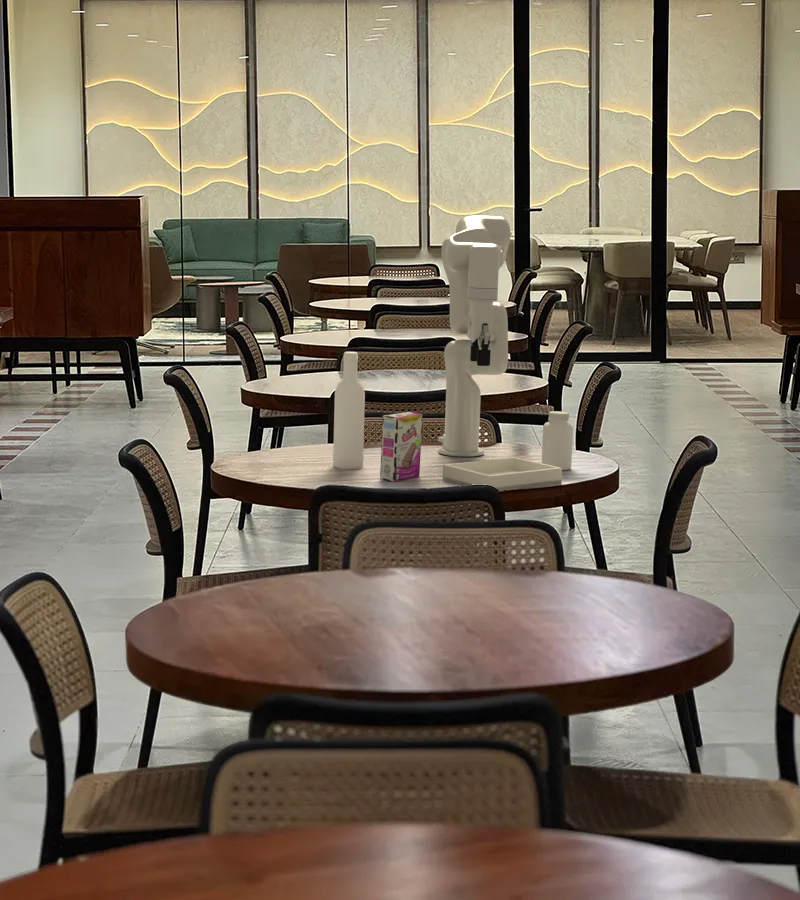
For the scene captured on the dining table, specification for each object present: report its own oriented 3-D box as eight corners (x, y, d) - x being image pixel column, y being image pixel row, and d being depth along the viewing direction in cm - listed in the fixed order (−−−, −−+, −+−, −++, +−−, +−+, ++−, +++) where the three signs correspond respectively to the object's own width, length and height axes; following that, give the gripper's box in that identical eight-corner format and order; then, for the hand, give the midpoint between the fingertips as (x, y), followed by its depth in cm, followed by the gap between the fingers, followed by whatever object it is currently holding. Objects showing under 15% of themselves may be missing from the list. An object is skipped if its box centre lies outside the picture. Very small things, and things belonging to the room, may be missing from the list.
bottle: (367, 465, 413) (370, 351, 408) (356, 470, 406) (359, 354, 401) (339, 463, 416) (341, 350, 411) (328, 467, 409) (330, 352, 404)
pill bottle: (571, 466, 422) (573, 411, 419) (571, 471, 414) (574, 415, 411) (541, 465, 422) (543, 409, 420) (541, 470, 414) (543, 413, 412)
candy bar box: (395, 482, 391) (397, 417, 388) (379, 480, 394) (381, 415, 391) (421, 477, 400) (423, 413, 397) (405, 474, 402) (407, 411, 400)
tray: (442, 480, 396) (443, 464, 395) (514, 472, 410) (514, 457, 410) (489, 492, 382) (489, 476, 381) (561, 483, 396) (562, 468, 396)
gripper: (462, 292, 399) (459, 359, 402) (473, 297, 382) (470, 367, 385) (491, 292, 400) (488, 359, 403) (504, 297, 383) (501, 367, 386)
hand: (479, 363), depth 394 cm, fingers open, 9 cm apart
